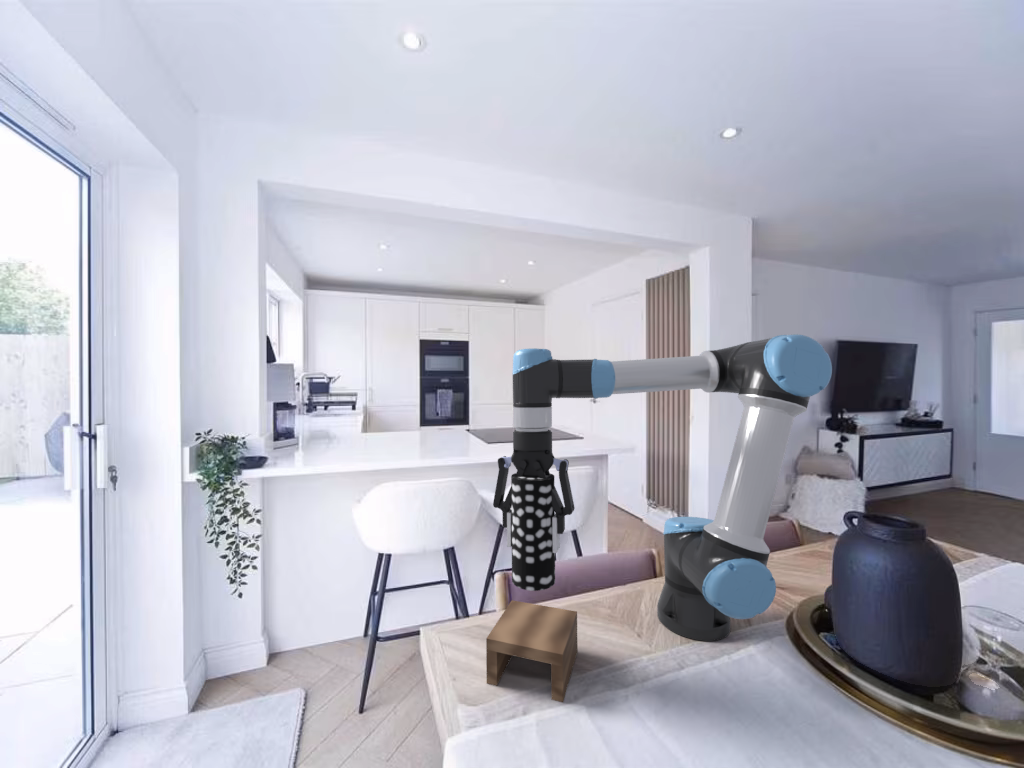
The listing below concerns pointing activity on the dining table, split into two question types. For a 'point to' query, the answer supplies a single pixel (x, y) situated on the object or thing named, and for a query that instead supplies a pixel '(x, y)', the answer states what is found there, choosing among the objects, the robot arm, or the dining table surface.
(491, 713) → the dining table surface
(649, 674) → the dining table surface
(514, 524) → the spotted tube
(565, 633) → the wooden bridge block
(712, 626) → the robot arm
